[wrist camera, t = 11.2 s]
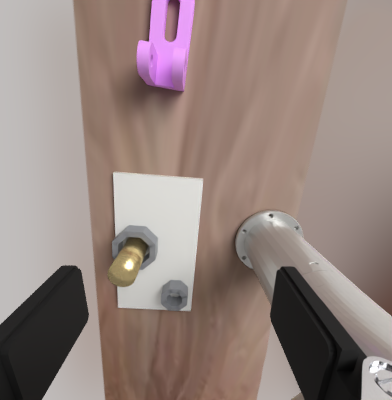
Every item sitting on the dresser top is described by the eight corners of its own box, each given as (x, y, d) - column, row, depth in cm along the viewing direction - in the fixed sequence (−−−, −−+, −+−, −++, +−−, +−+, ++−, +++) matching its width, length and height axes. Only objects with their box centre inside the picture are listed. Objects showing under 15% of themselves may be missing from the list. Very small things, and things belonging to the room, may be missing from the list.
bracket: (183, 91, 31) (181, 79, 25) (147, 85, 31) (135, 70, 24) (197, -14, 27) (199, -62, 21) (156, -22, 27) (144, -75, 20)
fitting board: (202, 178, 35) (204, 182, 32) (190, 307, 43) (190, 321, 40) (115, 171, 34) (107, 175, 31) (119, 303, 43) (113, 317, 39)
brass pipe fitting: (152, 239, 37) (140, 269, 29) (143, 256, 38) (130, 290, 30) (131, 230, 37) (113, 259, 28) (123, 248, 38) (103, 281, 29)
